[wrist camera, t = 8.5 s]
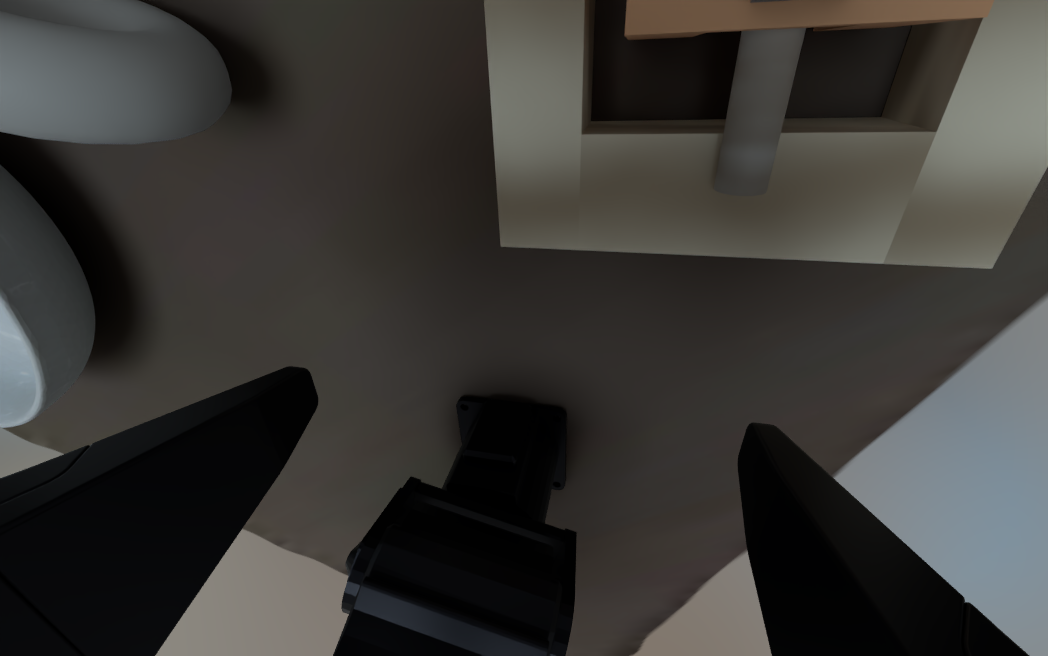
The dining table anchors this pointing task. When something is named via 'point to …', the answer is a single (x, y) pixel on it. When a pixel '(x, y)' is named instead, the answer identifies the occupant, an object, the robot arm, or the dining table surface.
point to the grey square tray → (774, 148)
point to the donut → (106, 73)
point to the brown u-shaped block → (788, 15)
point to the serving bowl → (38, 308)
